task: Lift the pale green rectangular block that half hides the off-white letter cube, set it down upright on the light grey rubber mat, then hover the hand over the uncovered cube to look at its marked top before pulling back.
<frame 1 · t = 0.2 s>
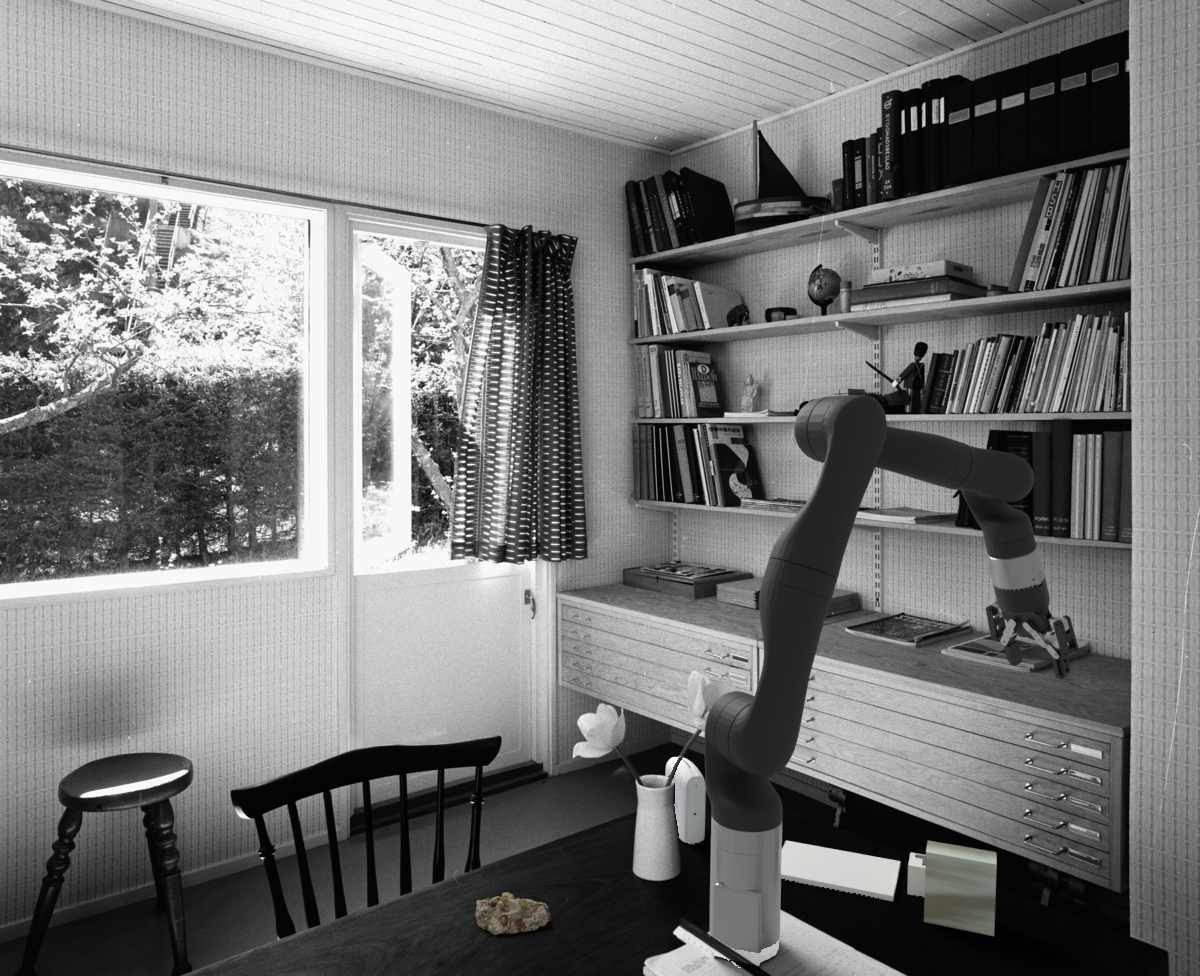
hand: (1039, 670, 144), 31 cm above the table, tool tilted 20°, fingers open, 8 cm apart
letter cube: (924, 890, 135), on the table
mineral rock: (512, 924, 126), on the table
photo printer: (684, 833, 155), on the table
pale green rectangular block: (958, 922, 127), on the table
mat: (836, 871, 141), on the table
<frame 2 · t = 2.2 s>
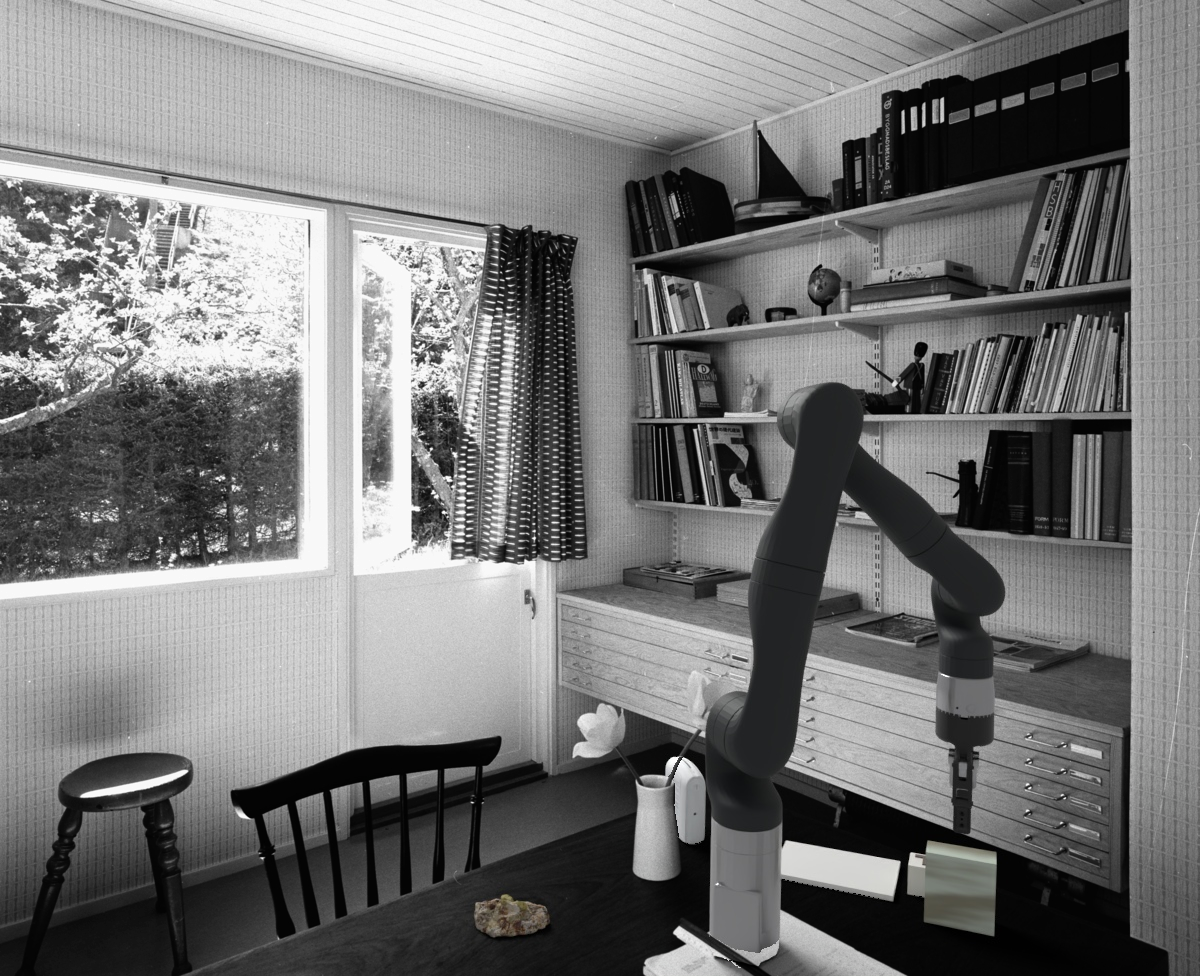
hand: (962, 820, 126), 14 cm above the table, tool pointing down, fingers open, 8 cm apart
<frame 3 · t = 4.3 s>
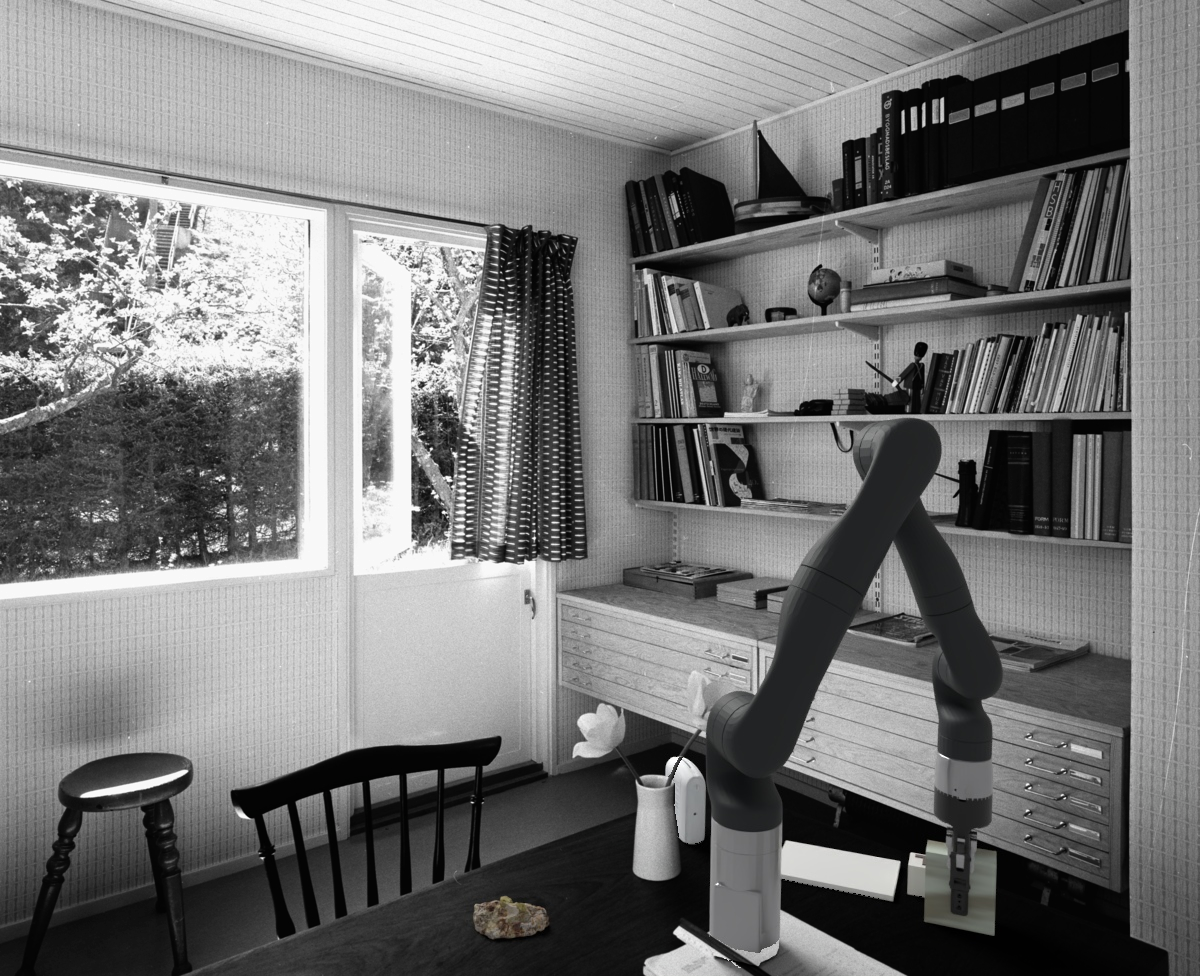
hand: (959, 905, 126), 2 cm above the table, tool pointing down, fingers closed on pale green rectangular block, 4 cm apart
pale green rectangular block: (959, 921, 127), on the table, touching gripper
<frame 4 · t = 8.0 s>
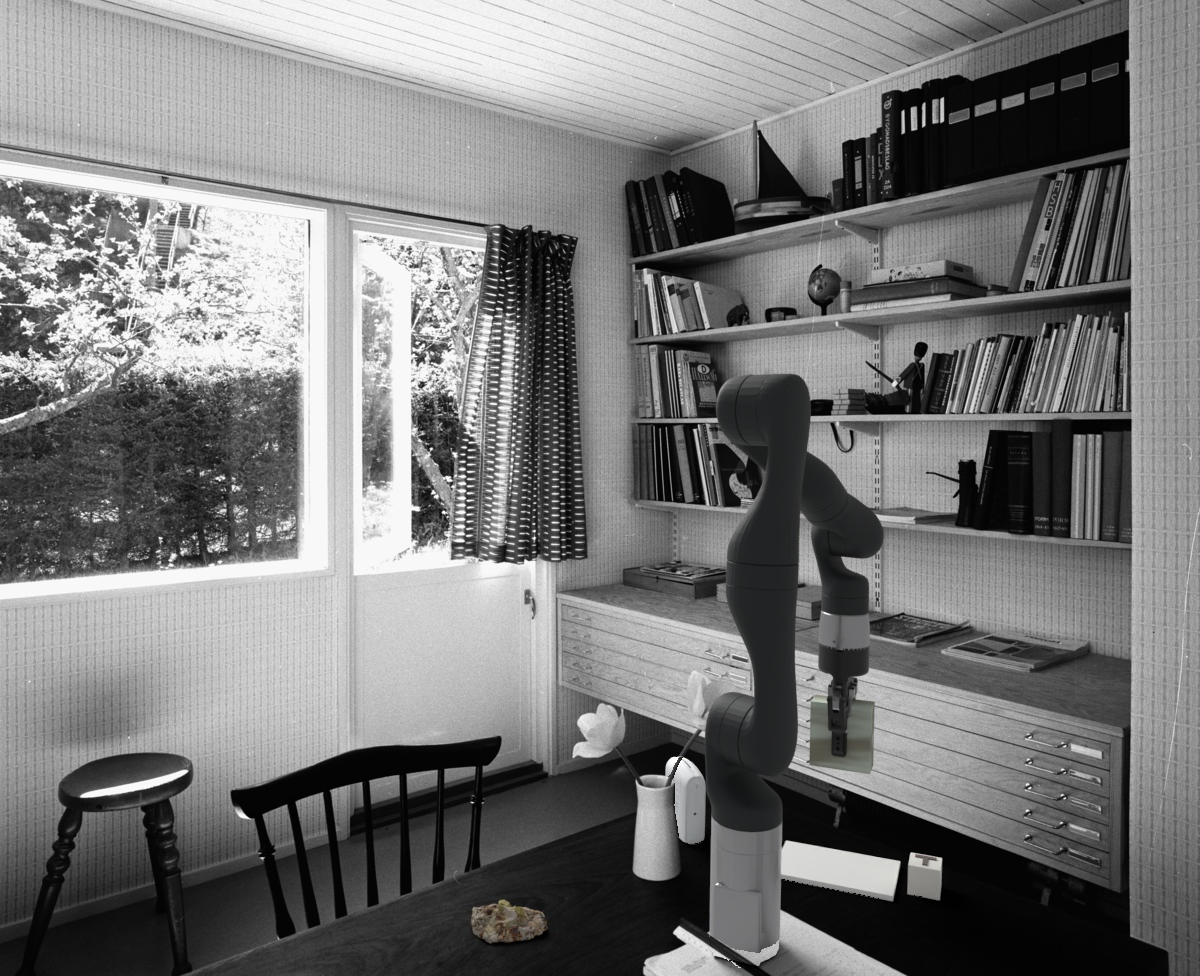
hand: (841, 750, 140), 19 cm above the table, tool pointing down, fingers closed on pale green rectangular block, 4 cm apart
pale green rectangular block: (841, 765, 140), point 17 cm above the table, touching gripper
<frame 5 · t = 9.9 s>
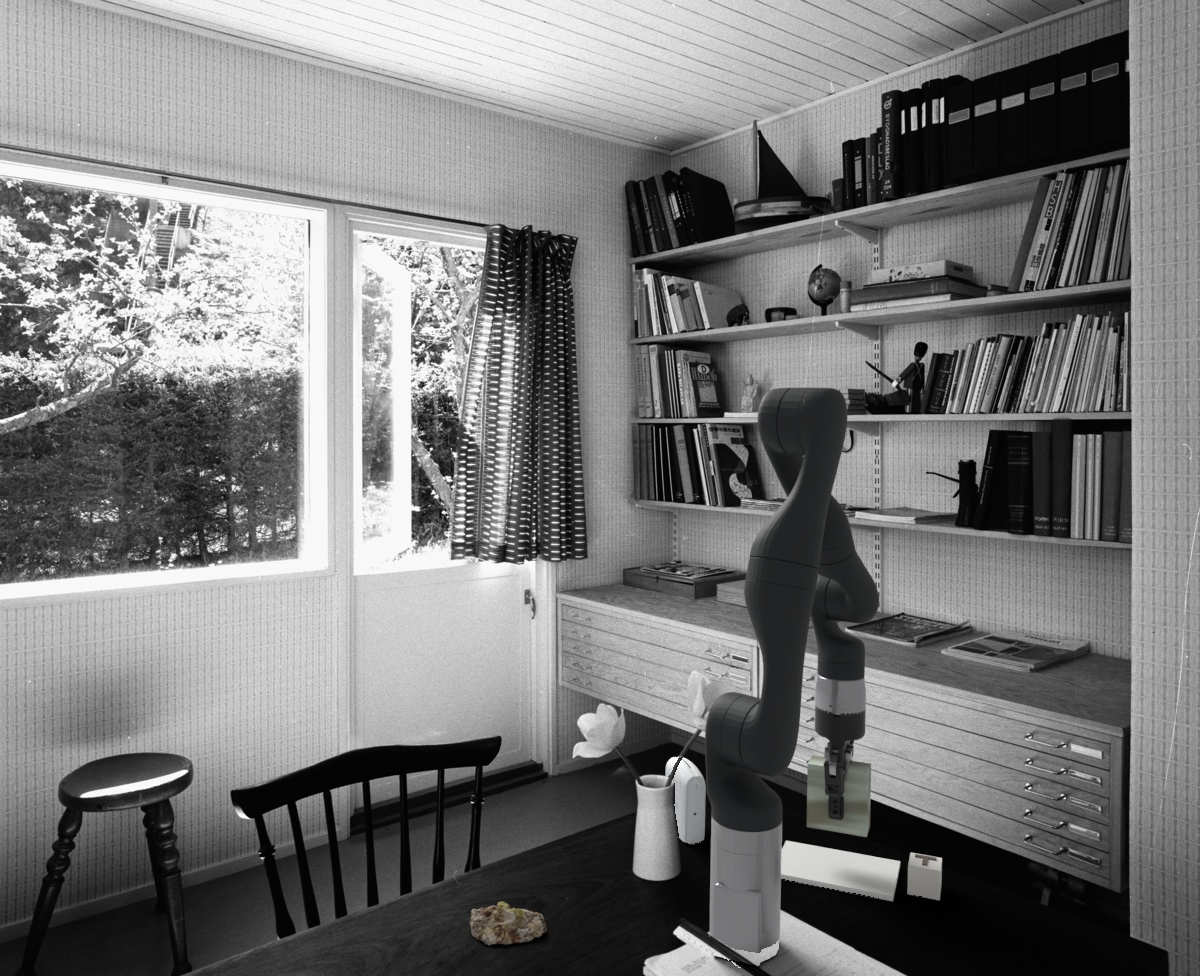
hand: (838, 812, 140), 9 cm above the table, tool pointing down, fingers closed on pale green rectangular block, 4 cm apart
pale green rectangular block: (838, 826, 141), point 7 cm above the table, touching gripper
when the fingers open (5 cm above the table, at t = 11.6 s): pale green rectangular block drops 1 cm, resting on mat.
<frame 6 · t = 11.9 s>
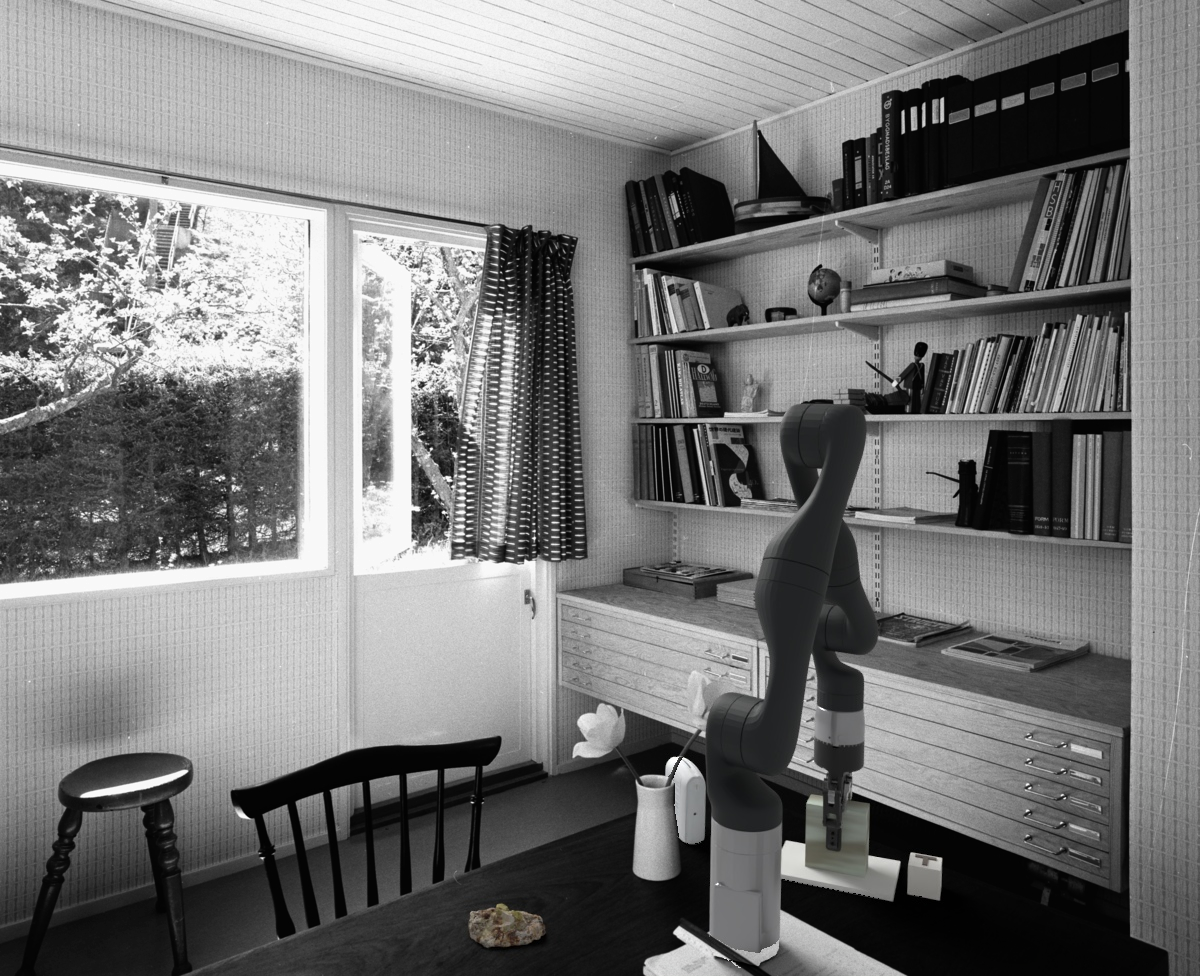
hand: (836, 840, 141), 5 cm above the table, tool pointing down, fingers open, 6 cm apart
pale green rectangular block: (836, 866, 141), point 1 cm above the table, touching mat
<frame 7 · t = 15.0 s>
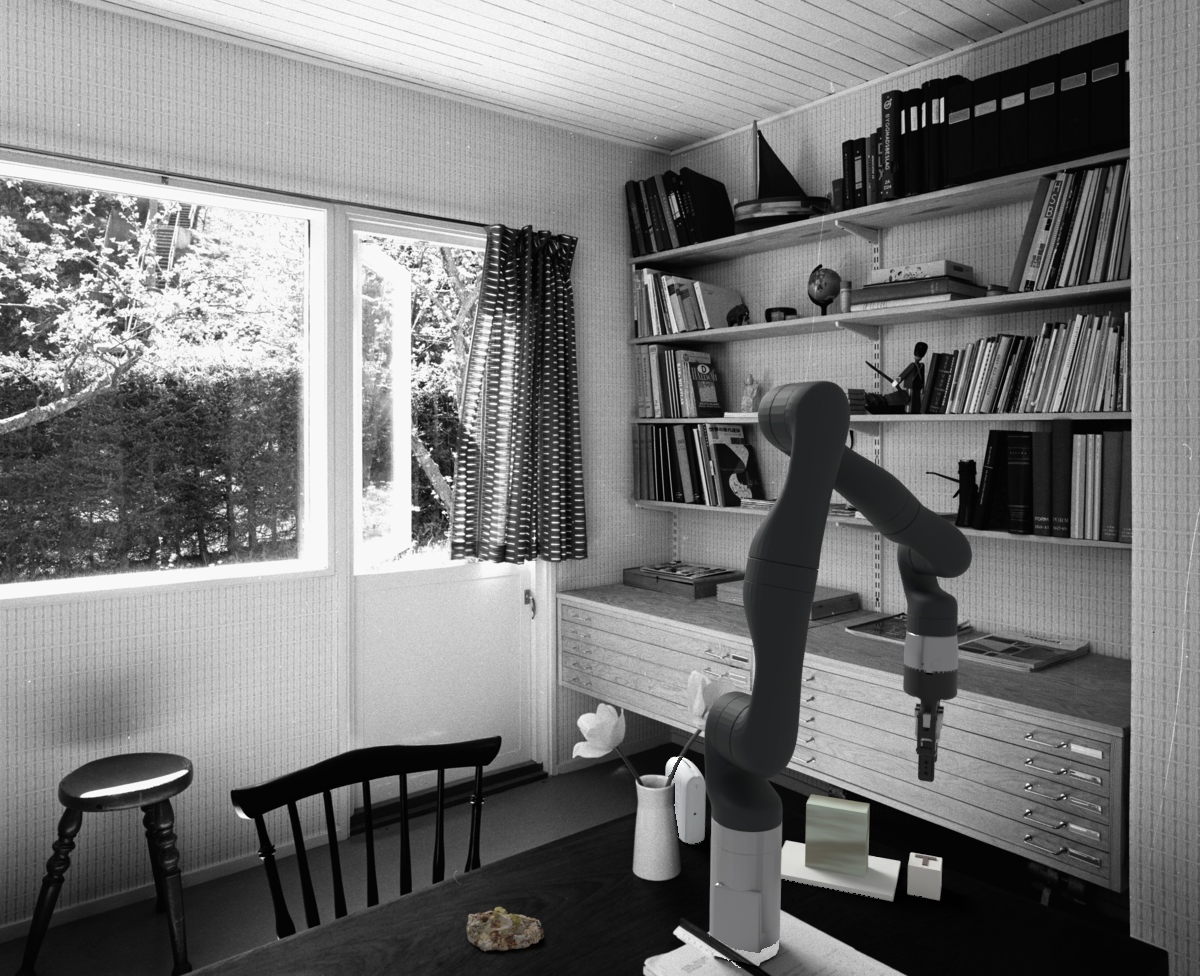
hand: (927, 770, 134), 18 cm above the table, tool pointing down, fingers open, 8 cm apart
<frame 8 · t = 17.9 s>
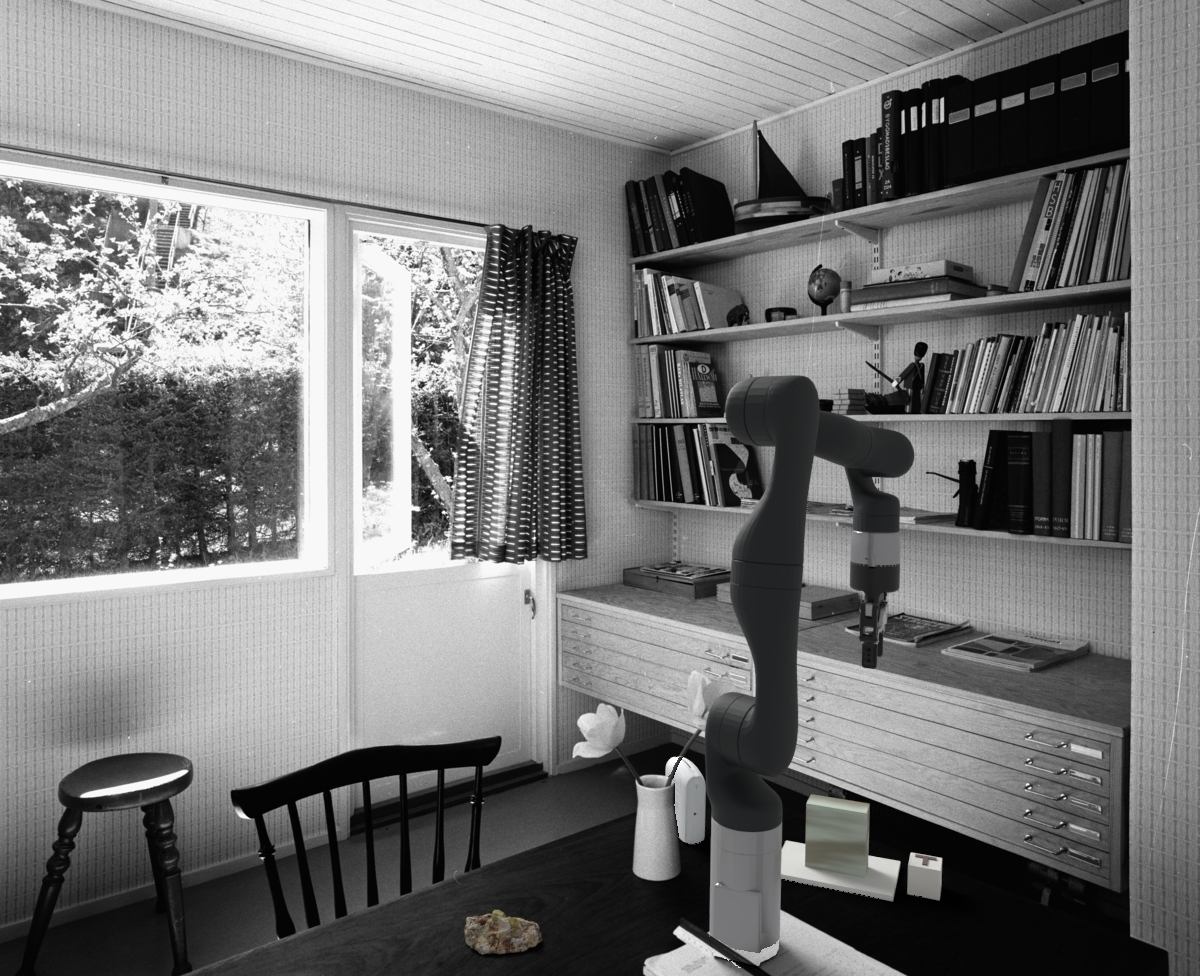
hand: (872, 661, 143), 32 cm above the table, tool pointing down, fingers open, 8 cm apart
at the end: pale green rectangular block inside the target area on the mat (0.0 cm from its centre), point 0.8 cm above the mat's base; pale green rectangular block tilted 0°; letter cube moved 0.1 cm from its start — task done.
